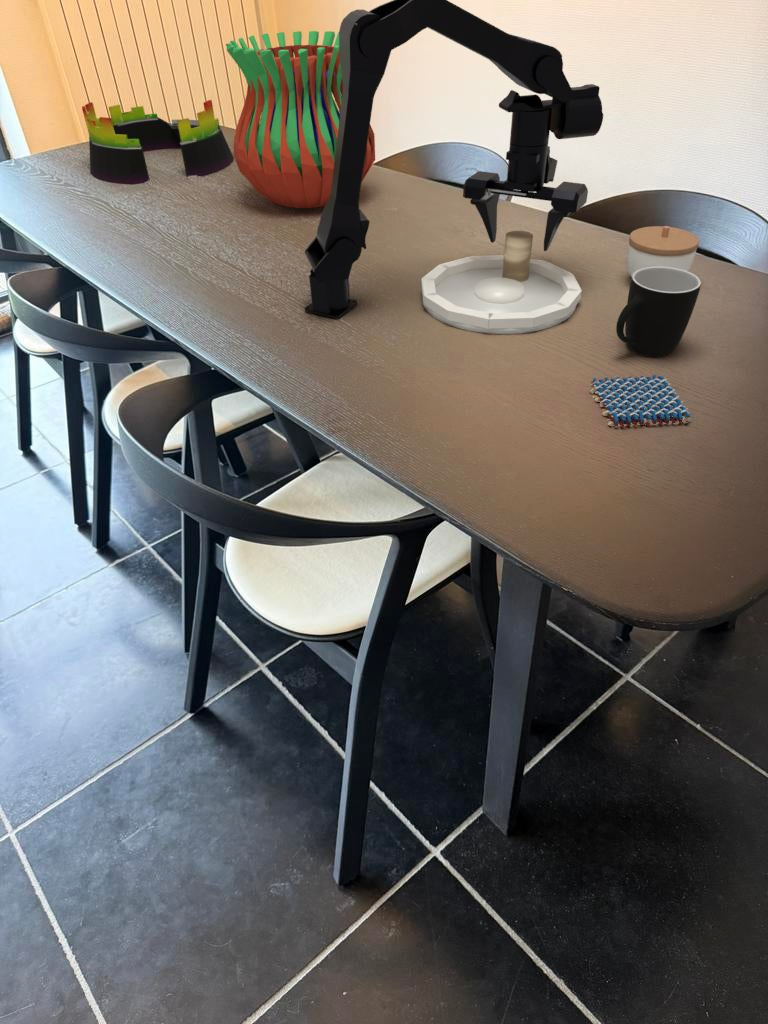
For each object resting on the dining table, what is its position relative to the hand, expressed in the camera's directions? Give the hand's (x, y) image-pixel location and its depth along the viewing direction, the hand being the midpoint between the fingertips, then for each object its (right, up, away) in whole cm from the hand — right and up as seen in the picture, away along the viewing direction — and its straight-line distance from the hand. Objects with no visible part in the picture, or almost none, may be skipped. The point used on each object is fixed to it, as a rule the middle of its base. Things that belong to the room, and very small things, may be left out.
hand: (519, 246), depth 117 cm
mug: (+15, -21, -15) cm, 29 cm away
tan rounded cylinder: (0, -4, +3) cm, 5 cm away
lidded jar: (+23, -6, +2) cm, 24 cm away
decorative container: (-80, +47, +68) cm, 115 cm away
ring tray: (-3, -9, -1) cm, 10 cm away
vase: (-39, +26, +42) cm, 63 cm away
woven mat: (+10, -31, -25) cm, 41 cm away
